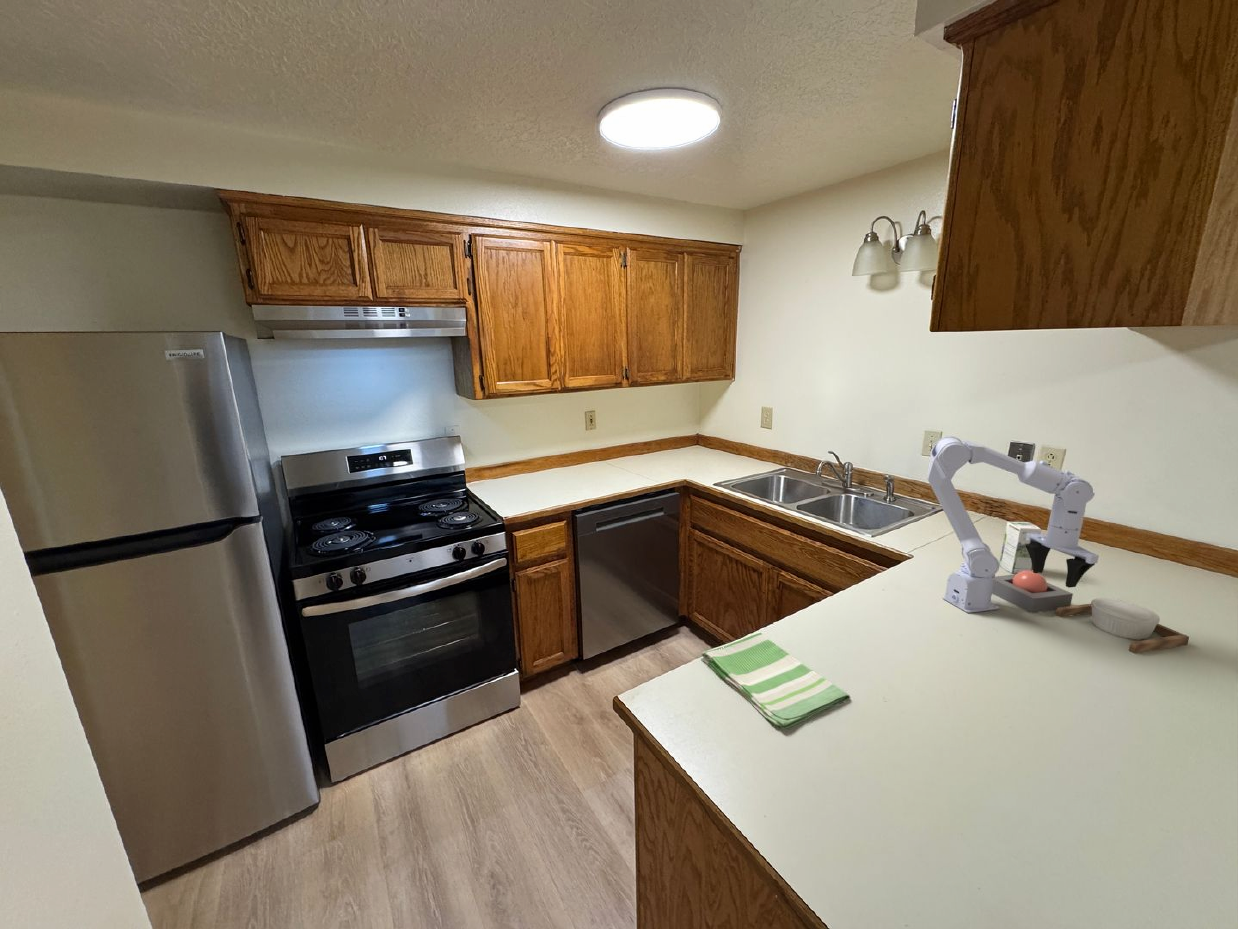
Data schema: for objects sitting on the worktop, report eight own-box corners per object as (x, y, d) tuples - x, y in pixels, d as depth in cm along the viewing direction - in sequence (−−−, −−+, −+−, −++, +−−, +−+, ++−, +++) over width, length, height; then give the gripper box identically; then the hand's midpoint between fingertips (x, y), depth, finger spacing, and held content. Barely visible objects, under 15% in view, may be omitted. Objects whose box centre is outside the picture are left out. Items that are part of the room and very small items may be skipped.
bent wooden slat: (1134, 653, 104) (1136, 645, 104) (1055, 615, 120) (1057, 607, 119) (1187, 645, 107) (1189, 636, 107) (1103, 608, 122) (1105, 601, 122)
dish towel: (781, 736, 83) (782, 722, 82) (698, 662, 103) (698, 651, 103) (850, 701, 91) (851, 688, 91) (760, 639, 111) (761, 628, 111)
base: (1031, 613, 121) (1033, 598, 120) (986, 590, 132) (989, 577, 131) (1069, 608, 123) (1072, 593, 122) (1023, 586, 134) (1025, 573, 133)
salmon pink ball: (1029, 604, 123) (1034, 579, 122) (1003, 591, 130) (1007, 567, 128) (1052, 601, 125) (1057, 576, 123) (1025, 589, 131) (1029, 565, 130)
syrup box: (1018, 566, 147) (1027, 521, 144) (1032, 575, 141) (1042, 528, 138) (998, 565, 148) (1006, 520, 144) (1011, 574, 142) (1020, 527, 139)
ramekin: (1097, 635, 111) (1102, 615, 110) (1079, 613, 121) (1083, 593, 120) (1165, 648, 106) (1171, 626, 105) (1140, 623, 116) (1145, 603, 115)
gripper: (1114, 535, 108) (1101, 591, 111) (1046, 515, 122) (1036, 565, 125) (1088, 538, 106) (1076, 594, 109) (1023, 517, 120) (1013, 567, 123)
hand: (1053, 579), depth 117 cm, fingers open, 7 cm apart
